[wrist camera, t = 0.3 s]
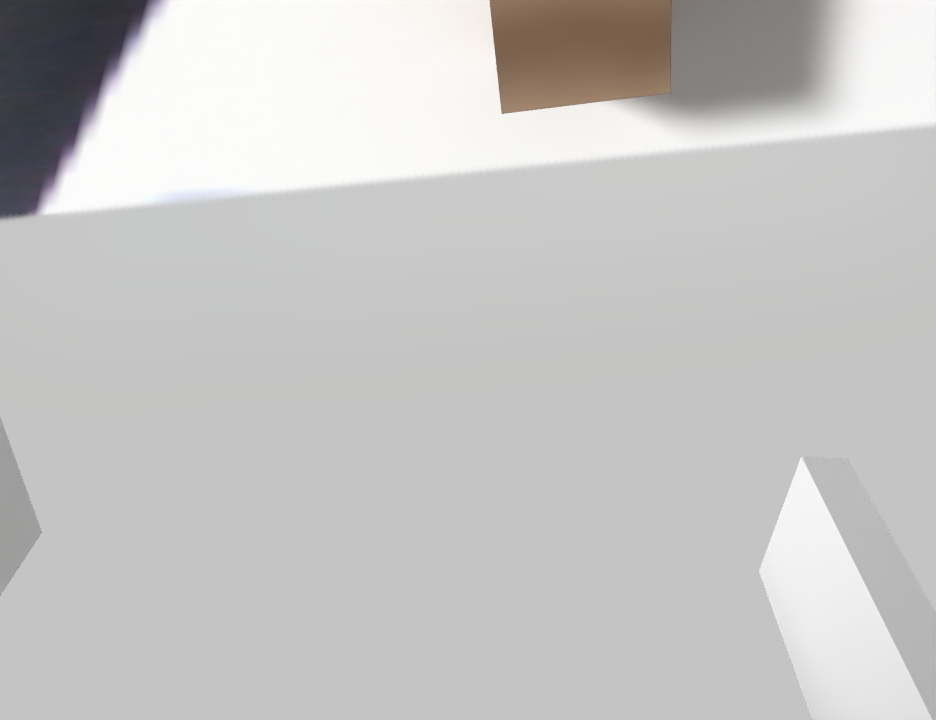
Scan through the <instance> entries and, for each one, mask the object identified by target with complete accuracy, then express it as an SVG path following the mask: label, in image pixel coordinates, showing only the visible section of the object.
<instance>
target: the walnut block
mask: <svg viewBox="0 0 936 720" xmlns="http://www.w3.org/2000/svg"><path fill="white" fill-rule="evenodd" d="M490 8H491V17H492V27H493V36H494V45H495V55H496V64H497V73H498V83H499V92H500V101H501V111H502V114H504V113H512V112H520V111H529V110H537V109H545V108H553V107H561V106H569V105H577V104H585V103H593V102H601V101H609V100H618V99H626V98H634V97H642V96H650V95H658V94H666V93H670V72H671V0H490Z"/></svg>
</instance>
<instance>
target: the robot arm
mask: <svg viewBox="0 0 936 720" xmlns="http://www.w3.org/2000/svg"><path fill="white" fill-rule="evenodd" d="M41 533H42V531H41V528H40V526H39V523H38V520H37V518H36V515H35V512H34V509H33V506H32V504H31V501H30V498H29V495H28V493H27V490H26V487H25V484H24V482H23V479H22V476H21V473H20V470H19V468H18V465H17V462H16V459H15V457H14V454H13V451H12V449H11V446H10V443H9V440H8V437H7V435H6V432H5V429H4V426H3V424H2V421H1V418H0V595H1V594H2V592H3V590H4V589H5V587H6V586H7V584H8V583H9V581H10V580H11V578H12V577H13V575H14V574H15V572H16V571H17V569H18V568H19V566H20V565H21V563H22V562H23V560H24V559H25V557H26V555H27V554H28V552H29V551H30V550H31V548H32V547H33V545H34V544H35V542H36V540H37V539H38V537H39V536H40V534H41ZM759 573H760V576H761V578H762V581H763V584H764V586H765V589H766V592H767V595H768V598H769V601H770V603H771V606H772V609H773V612H774V615H775V617H776V620H777V623H778V626H779V628H780V631H781V634H782V636H783V640H784V642H785V645H786V648H787V650H788V653H789V656H790V659H791V662H792V665H793V667H794V670H795V673H796V676H797V678H798V681H799V684H800V686H801V690H802V692H803V695H804V698H805V700H806V703H807V706H808V709H809V712H810V715H811V717H812V720H936V611H935V610H934V608H933V606H932V604H931V603H930V601H929V599H928V598H927V596H926V594H925V592H924V590H923V589H922V587H921V585H920V583H919V582H918V580H917V578H916V576H915V575H914V573H913V571H912V570H911V568H910V566H909V564H908V562H907V561H906V559H905V557H904V555H903V554H902V552H901V550H900V548H899V547H898V545H897V543H896V541H895V540H894V538H893V536H892V534H891V533H890V531H889V529H888V527H887V526H886V524H885V522H884V520H883V519H882V517H881V515H880V513H879V512H878V510H877V508H876V506H875V505H874V503H873V501H872V500H871V498H870V496H869V494H868V492H867V491H866V489H865V487H864V485H863V484H862V482H861V480H860V479H859V477H858V475H857V473H856V471H855V470H854V468H853V466H852V464H851V463H850V461H849V459H841V458H823V457H803V456H802V457H801V459H800V462H799V465H798V467H797V470H796V473H795V475H794V478H793V481H792V483H791V486H790V489H789V492H788V494H787V497H786V500H785V503H784V505H783V508H782V511H781V513H780V516H779V519H778V522H777V524H776V527H775V530H774V532H773V535H772V538H771V540H770V543H769V546H768V548H767V551H766V554H765V557H764V559H763V562H762V565H761V568H760V570H759Z"/></svg>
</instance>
